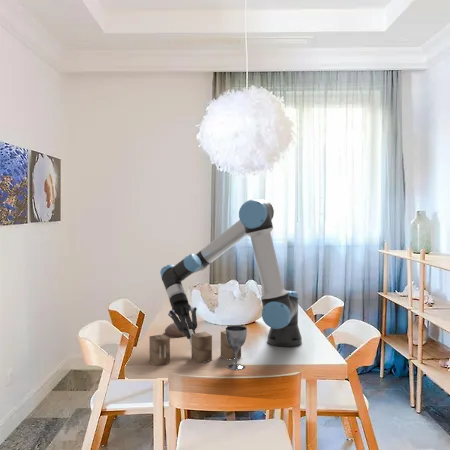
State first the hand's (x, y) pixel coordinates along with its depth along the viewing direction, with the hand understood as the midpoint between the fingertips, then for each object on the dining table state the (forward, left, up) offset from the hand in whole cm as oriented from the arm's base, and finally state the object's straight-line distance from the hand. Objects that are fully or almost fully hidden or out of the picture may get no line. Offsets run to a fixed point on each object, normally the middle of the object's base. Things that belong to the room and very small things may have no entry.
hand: (194, 344), depth 194 cm
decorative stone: (+16, -28, -5) cm, 32 cm away
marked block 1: (+11, +11, -4) cm, 16 cm away
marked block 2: (-15, -1, -4) cm, 16 cm away
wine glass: (-19, +10, -4) cm, 22 cm away
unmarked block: (-4, +5, -4) cm, 8 cm away
